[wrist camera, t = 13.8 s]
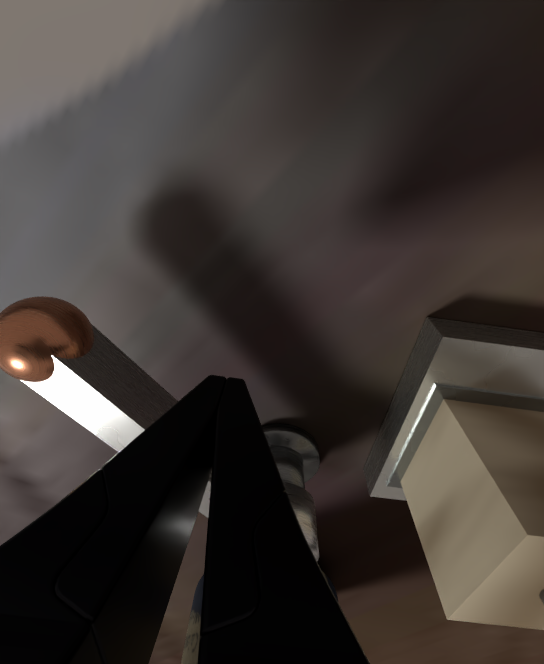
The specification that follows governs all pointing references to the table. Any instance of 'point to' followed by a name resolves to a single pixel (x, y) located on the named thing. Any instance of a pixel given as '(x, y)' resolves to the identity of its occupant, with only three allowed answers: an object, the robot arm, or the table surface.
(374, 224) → the table surface
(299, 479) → the grey metal flanged disc
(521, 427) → the block
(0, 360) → the lever
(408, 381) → the plate
